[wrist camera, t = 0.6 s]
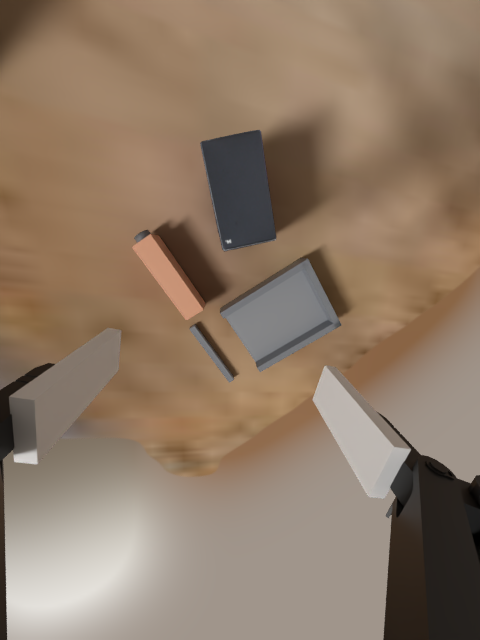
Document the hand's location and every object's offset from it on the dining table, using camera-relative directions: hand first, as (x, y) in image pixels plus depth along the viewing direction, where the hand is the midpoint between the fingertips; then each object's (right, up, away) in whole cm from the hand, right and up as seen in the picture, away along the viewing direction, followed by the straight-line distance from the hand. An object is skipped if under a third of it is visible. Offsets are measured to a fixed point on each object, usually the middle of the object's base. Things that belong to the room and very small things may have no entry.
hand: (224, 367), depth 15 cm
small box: (+1, +19, +19) cm, 27 cm away
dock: (+5, +3, +24) cm, 25 cm away
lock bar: (-9, +10, +21) cm, 25 cm away
